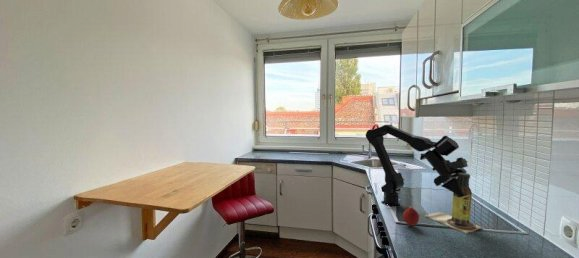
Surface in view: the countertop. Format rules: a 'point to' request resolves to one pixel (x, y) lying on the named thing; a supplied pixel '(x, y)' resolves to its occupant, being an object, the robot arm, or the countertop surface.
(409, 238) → the countertop surface
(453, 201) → the sauce bottle
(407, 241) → the countertop surface
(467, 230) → the beige flat board
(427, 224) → the countertop surface
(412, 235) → the countertop surface
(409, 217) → the onion
